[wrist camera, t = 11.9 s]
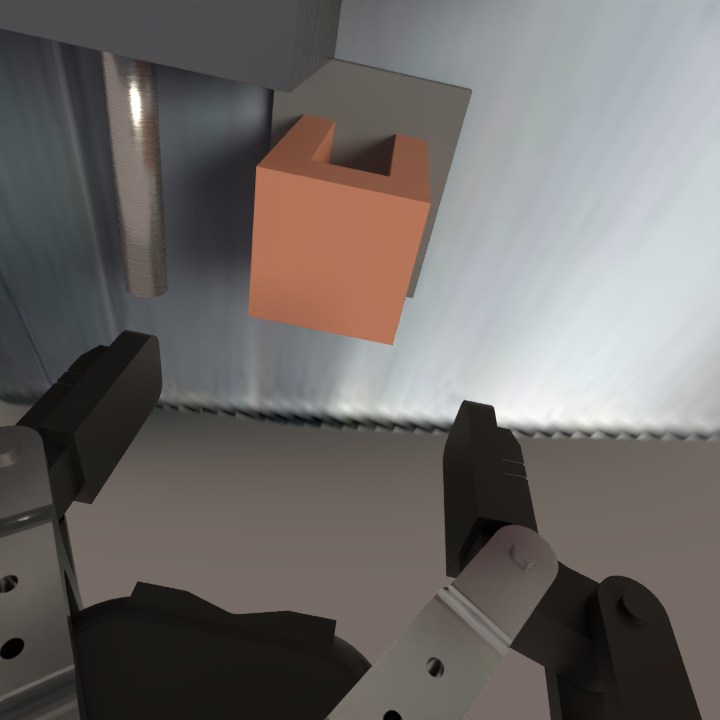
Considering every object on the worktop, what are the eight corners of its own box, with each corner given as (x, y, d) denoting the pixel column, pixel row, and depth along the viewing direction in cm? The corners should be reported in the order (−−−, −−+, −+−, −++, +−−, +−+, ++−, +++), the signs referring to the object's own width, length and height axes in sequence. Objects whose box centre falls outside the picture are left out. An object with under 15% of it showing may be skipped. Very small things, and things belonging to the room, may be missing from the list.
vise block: (127, -173, 19) (-217, -369, 9) (357, -118, 20) (288, -244, 9) (154, 246, 30) (11, 384, 19) (304, 277, 30) (244, 430, 20)
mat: (470, 89, 23) (471, 91, 23) (412, 293, 30) (412, 298, 29) (280, 46, 23) (277, 47, 23) (263, 261, 30) (261, 266, 29)
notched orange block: (426, 140, 24) (430, 203, 17) (398, 253, 28) (392, 345, 21) (304, 114, 24) (256, 166, 17) (292, 231, 28) (248, 315, 20)
